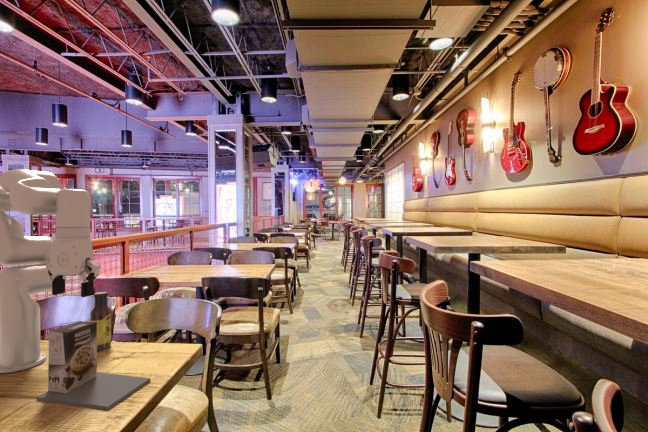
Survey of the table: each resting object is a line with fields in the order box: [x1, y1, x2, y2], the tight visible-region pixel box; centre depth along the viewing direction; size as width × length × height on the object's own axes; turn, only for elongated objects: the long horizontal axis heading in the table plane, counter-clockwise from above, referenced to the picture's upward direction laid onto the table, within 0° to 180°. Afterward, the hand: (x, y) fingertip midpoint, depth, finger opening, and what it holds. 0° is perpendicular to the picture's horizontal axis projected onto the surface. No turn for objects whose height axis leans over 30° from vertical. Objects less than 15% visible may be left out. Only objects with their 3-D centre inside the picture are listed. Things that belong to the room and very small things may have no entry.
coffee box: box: [47, 321, 98, 393], centre depth 89 cm, size 9×6×16 cm
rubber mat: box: [36, 372, 151, 411], centre depth 87 cm, size 22×14×1 cm, turn 78°
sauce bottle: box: [89, 291, 112, 351], centre depth 115 cm, size 6×6×20 cm
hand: (72, 294), depth 89 cm, fingers open, 9 cm apart
